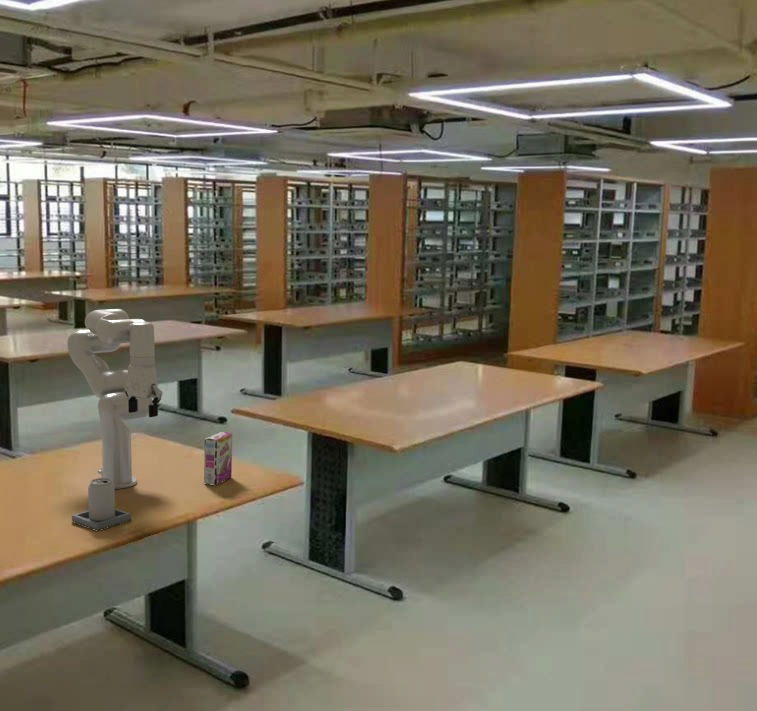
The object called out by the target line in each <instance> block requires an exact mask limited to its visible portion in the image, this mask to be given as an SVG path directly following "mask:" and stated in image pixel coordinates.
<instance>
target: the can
mask: <svg viewBox="0 0 757 711" xmlns="http://www.w3.org/2000/svg"><path fill="white" fill-rule="evenodd" d="M87 491H88V492H87V493H88V497H87V498H88V499H87V500H88V510H89V518H90V519H91V520H92V521H95V522H102V521H105V520H108V519H111V518H113V517H114V516H115V508H116V500H115V499H116V494H115V491H116V489H115V488H114V484H113V483H112V480H111V479H109V478H102V477H99V478H94V479H92V480H90V481H89V484H88V486H87Z"/></svg>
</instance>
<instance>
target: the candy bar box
mask: <svg viewBox="0 0 757 711" xmlns="http://www.w3.org/2000/svg"><path fill="white" fill-rule="evenodd" d="M232 453H233V433H231V432H223V431H220V432H217V433H215V434H213V435H210V436H208V437H206V438H204V464H203V465H204V468H203V469H204V470H203V471H204V473H203V476H204V477H203V478H204V479H203V480H204V483H206V484H213V485H216V486H218V485H220V484H222V483H223V482H222V481H224V480H226V479H228V478H230V477H231V478H232V469H233V468H232V466H233V465H232V464H233V460H232V459H233V454H232ZM231 478H230V479H231ZM228 480H229V479H228ZM226 481H227V480H226ZM221 482H222V483H221ZM224 482H225V481H224ZM204 483H203V484H204ZM219 483H220V484H219ZM206 484H205V485H206ZM217 484H218V485H217Z"/></svg>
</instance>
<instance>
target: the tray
mask: <svg viewBox="0 0 757 711" xmlns="http://www.w3.org/2000/svg"><path fill="white" fill-rule="evenodd" d="M129 520H131V521H132V512H128V511H125V510H122V509H120V508H116V507H115V516H114V517H113V518H111V519H108V520H105V521H102V522H95V521H92V520H91V519H90V518H89V509H87V510H85V511H82V512H79V513H75V514H72V515H71V522H72V521H73V522H75V523H78V524H80V525H83V526H86V527H89V528H91V529H95V530H97V531H98V530H101V529H104V528H107V527H110V526H113V525H116V526H118V525H117V524H119V525H121V524H120V523H122V524H124V523H123V522H125V523H127V522H126V521H128V522H130V521H129ZM75 523H74V524H75ZM78 524H77V525H78ZM80 525H79V526H80ZM83 526H82V527H83ZM86 527H85V528H86ZM113 527H114V526H113ZM89 528H88V529H89ZM110 528H111V527H110ZM91 529H90V530H91ZM107 529H108V528H107ZM104 530H105V529H104ZM97 531H96V532H97ZM101 531H102V530H101ZM98 532H99V531H98Z"/></svg>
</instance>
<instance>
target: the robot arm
mask: <svg viewBox="0 0 757 711" xmlns="http://www.w3.org/2000/svg"><path fill="white" fill-rule="evenodd" d="M84 326H85V328H86V329H81V330H78V331H75V332H72V333H70V335H69V336H68V338H67V340H66V342H67V350H68V354H69V357H70V359H71V360H72V362H73V364H74V365H75V366H76V367H77V368H78V370H79V371H80V372H81V373H82V374H83V376H84V377H85V379H86V381H87V384H88V385H89V387H90V389H91V391H92V393H93V394H94V396H95V397H96V398H98V402H97V409H98V415H99V419H100V426H101V427H100V428H101V429H100V430H101V453H102V454H101V455H102V460H101V461H102V462H101V463H102V467H101V469H99V470H97V474H98V475H101V478H109V479H111V480H112V483H113V484H114V488H115V490H116V489H117V490H118V489H120V490H121V489H126V488H130V487H132V486H134V485H136V484H137V481H138V480H137V478H136V477H135V476H133V468H132V463H133V462H132V460H133V459H132V456H133V455H132V433H131V430H130V428H129V426H127V425H126V424H125V421H128V420H135V419H141V418H144V417H147V416H148V417H149V418H155V417H159V404H160V401H161V400H162V397H163V394H164V393H163V391H162V390H161V389H160V388H159V387H158V375H157V369H156V366H155V365H156V364H155V362H156V361H155V359H156V358H155V350H156V349H155V325H154V324H153V323H152V322H149V321H146V320H145V319H141V318H132V319H131V318H130V317H129V315H128V313H127V312H126V311H125V310H123V309H121V308H114V309H113V308H109V309H107V308H106V309H96V310H92V311H90V312H89V313H88V314H87V315H86V316H85V318H84ZM121 344H129V365H128V367H127V369H119V370H112V369H110V367H109V366H108V364H107V362H106V361H105V360H104V359H103V358H101V357H100V356H98V355H96V354H100V353H110V352H111V353H112V352H115V351H117V350H118V349H119V348H120V347H121Z"/></svg>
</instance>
